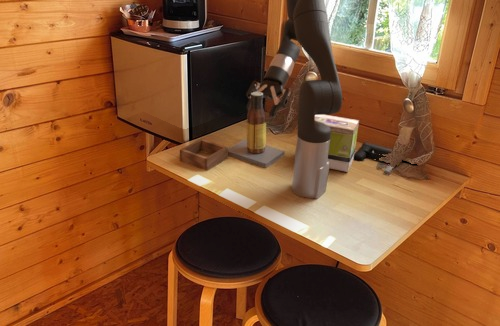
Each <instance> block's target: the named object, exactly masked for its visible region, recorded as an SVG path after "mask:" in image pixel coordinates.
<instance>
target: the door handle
mask: <svg viewBox="0 0 500 326" xmlns="http://www.w3.org/2000/svg"><path fill="white" fill-rule="evenodd" d="M392 150H394V149H392V148H390V147H386V146H381V145H377V144H374V143H370V142H366V141H365V142H363V143H362V144H361V147H359V148H358V149H357V150H356V151H355V153H354V159H353V160H355V161H359V162H362V161H364V160H365V158H366V157H367V158H366V159H370V158H371V160H374V159H376V160H375V161H377V160H379V158H381V157H386V156H383V155H382V154H388V153H391V152H392ZM379 154H380V155H379ZM392 168H393V167H391V166H388V165H387V166H386V168H385V169H384V171H383V174H384V173H385V174H384V175H387V174H388V175H387V176H390V174H391V173H392V172H393V171H392ZM391 171H392V172H391Z"/></svg>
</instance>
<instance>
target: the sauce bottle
mask: <svg viewBox="0 0 500 326" xmlns="http://www.w3.org/2000/svg"><path fill="white" fill-rule="evenodd" d="M263 99H264V97H263V93H261V92H252V93H251V108H250V109H249V111H248V110H247V116H246V117H247V121H246V139H247V149H248V151H249V152H251V153H255V154H258V153H263V152H264V151H265V146H266V144H267V142H266V141H267V115H266V113H265V110H264V104H263V101H264V100H263Z"/></svg>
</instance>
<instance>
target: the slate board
mask: <svg viewBox="0 0 500 326" xmlns="http://www.w3.org/2000/svg"><path fill="white" fill-rule="evenodd" d="M285 155H286V151H285V150H283V149H280V148H278V147H277V148H276V147H273V146H269V145H266V146H265V151H264V152H263V153H258V154H255V153H251V152H249V151H248V149H247V138H244V139H242V140H241V141H239V142H237V143H235V144H233V145H231V146H230V147H228V157H231V158H234V159H238V160H241V161H243V162H247V163H250V164H253V165H255V166H259V167H262V168H265V169H267V168H269V167H270V166H271V165H273V164H274V163H275V162H277V161H279V160H280V159H281V158H282V157H284V156H285Z"/></svg>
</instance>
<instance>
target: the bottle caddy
mask: <svg viewBox="0 0 500 326" xmlns="http://www.w3.org/2000/svg"><path fill="white" fill-rule="evenodd" d="M228 148H229V147H228V146H224V145H221V144H218V143H216V142H213V141H209V140H206V139H203V138H200V139H198V140H196V141H193V142H192V143H190V144H188V145H186V146H184V147H182V148H180V149H179V161H180V162H182V163H184V164H187V165H190V166H192V167H196V168H198V169H201V170H203V171H207V172H208V171H209V170H211V169H213V168H215V167H216V166H217V165H219V164H221V163H222V162H225V161H226V160H227V159H228V157H229V156H228ZM201 152H202V153H205V154H208V156H204V155H200V154H199V153H201Z"/></svg>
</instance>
